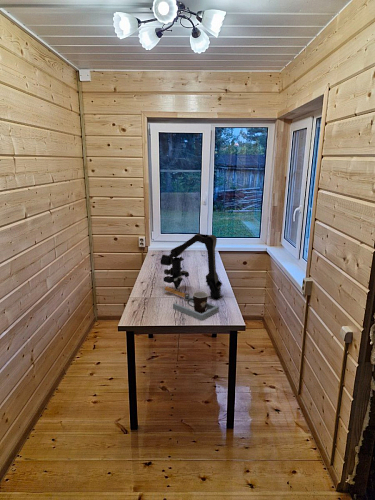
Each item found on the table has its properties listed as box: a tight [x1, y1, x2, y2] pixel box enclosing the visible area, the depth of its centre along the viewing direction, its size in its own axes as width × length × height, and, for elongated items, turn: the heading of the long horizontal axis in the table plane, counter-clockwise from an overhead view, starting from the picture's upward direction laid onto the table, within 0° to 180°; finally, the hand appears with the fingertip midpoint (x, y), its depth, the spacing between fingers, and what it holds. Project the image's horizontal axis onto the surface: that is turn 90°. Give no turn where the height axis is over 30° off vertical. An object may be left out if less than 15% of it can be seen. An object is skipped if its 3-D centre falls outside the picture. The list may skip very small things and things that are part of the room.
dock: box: [172, 295, 220, 321], centre depth 186 cm, size 16×26×3 cm, turn 47°
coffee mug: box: [187, 291, 209, 314], centre depth 183 cm, size 12×9×10 cm
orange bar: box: [164, 286, 190, 299], centre depth 204 cm, size 20×3×2 cm, turn 47°
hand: (176, 288), depth 212 cm, fingers closed
